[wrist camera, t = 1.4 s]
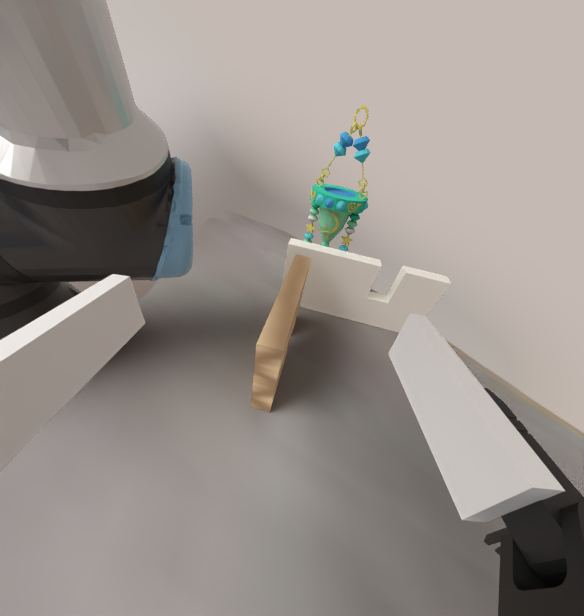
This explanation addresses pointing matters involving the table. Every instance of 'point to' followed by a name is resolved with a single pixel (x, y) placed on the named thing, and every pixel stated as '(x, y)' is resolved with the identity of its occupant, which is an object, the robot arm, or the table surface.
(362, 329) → the table surface
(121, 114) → the robot arm
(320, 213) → the hanging basket ornament
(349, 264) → the cream slotted board
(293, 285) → the tan faceted tapered block
